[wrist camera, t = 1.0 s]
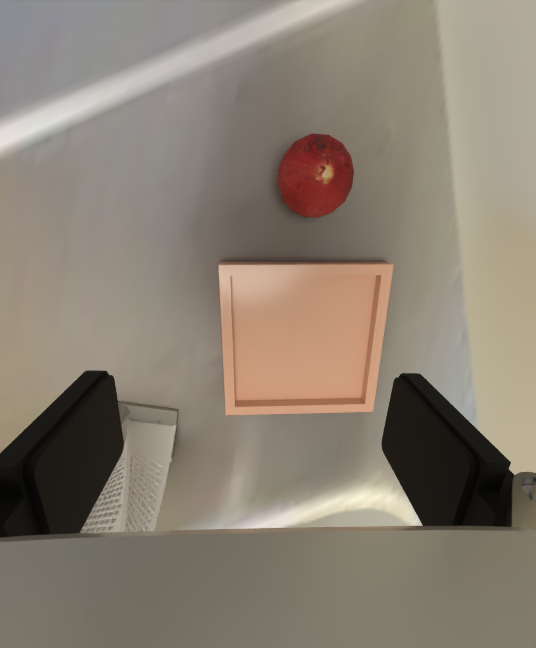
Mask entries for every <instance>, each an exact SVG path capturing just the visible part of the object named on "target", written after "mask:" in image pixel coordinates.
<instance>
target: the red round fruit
mask: <svg viewBox="0 0 536 648" xmlns="http://www.w3.org/2000/svg"><path fill="white" fill-rule="evenodd" d="M353 174H354V170H353V165H352V159H351V156H350V154H349V153H348V151H347V150H346V148H345V146H344V145H343V144H342V143H341V142H339V141H338V140H336V139H334V138H333V137H331V136H330V135H322V134H310V135H308V136H306V137H304V138H302V139H300V140H297V141H296V142H294V144H293V145H292V146H291V147H290V148H289V150H288V151H287V152H286V153H285V154H284V156H283V159H282V161H281V164H280V167H279V169H278V187H279V190H280V193H281V196H282V199H283V201H284V202H285V203H286V205H287V206H288V207H289V208H290V209H291V210H292V211H293V212H295V213H298V214H300V215H302V216H304V217H321V216H323V215H326V214H329V213H331V212H333V211H335V210H336V209H337V208H338V207H339V206H340V205H341V204H342V203H343V202H345V200H346V198H347V196H348V194H349V192H350V190H351V188H352V182H353Z"/></svg>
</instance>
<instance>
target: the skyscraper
mask: <svg viewBox="0 0 536 648" xmlns="http://www.w3.org/2000/svg"><path fill="white" fill-rule="evenodd" d="M118 407H119V413H120V420H121V426H122V433H123V439H124V448H123V452H122V455H121V457H120V458H119V460H118V462H117V464H116V466H115V468H114V470H113V472H112V473H111V475H110V477H109V479H108V481H107V483H106V485H105V487H104V488H103V490H102V492H101V494H100V496H99V498H98V500H97V502H96V503H95V505H94V507H93V509H92V511H91V513H90V515H89V517H88V518H87V520H86V522H85V524H84V526H83V528H82V530H81V532H80V533H98V532H135V531H154V529H155V526H156V522H157V518H158V514H159V510H160V506H161V502H162V498H163V493H164V489H165V484H166V480H167V474H168V469H169V464H170V462H171V461H172V459H173V452H174V443H175V435H176V426H177V417H178V409H172V408H164V407H157V406H149V405H142V404H134V403H127V402H119V401H118Z"/></svg>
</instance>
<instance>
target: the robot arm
mask: <svg viewBox="0 0 536 648" xmlns="http://www.w3.org/2000/svg"><path fill="white" fill-rule="evenodd" d="M123 448H124V439H123V433H122V426H121V420H120V413H119V407H118V400H117V393H116V387H115V380H114V377H113V376H112V375H109V374H108V372H107V371H85V372H84V373H83V374H82V375H81V376H80V377H79V378H78V379H77V380H76V381H75V382H74V383H73V384H72V385H71V386H70V387H68V388H67V389H66V390H65V391H64V392H63V393H62V394H61V395H60V396H59V397H58V398H57V399H56V400H55V401H54V402H53V403H52V404H51V405H50V406H49V407H48V408H47V409H46V410H45V411H44V412H43V413H42V414H41V415H40V416H38V417H37V418H36V419H35V420H34V421H33V422H32V423H31V424H30V425H29V426H28V427H27V428H26V429H25V430H24V431H23V432H22V433H21V434H20V435H19V436H18V437H17V438H16V439H15V440H14V441H13V442H12V443H11V444H10V445H8V446H7V447H6V448H5V449H4V450H3V451H2V452H1V453H0V648H536V473H532V472H520V473H518V474H516V475H514V474H513V473H512V472H511V471H510V470H509V466H510V464H511V462H510V461H509V460H508V459H507V458H506V457H505V456H504V455H503V454H502V453H500V451H499V450H498V449H497V448H495V446H493V445H492V444H491V443H490V442H489V441H488V440H487V439H486V438H485V437H484V436H483V435H482V434H481V433H480V432H479V431H478V430H477V429H476V428H475V427H474V426H473V425H472V424H471V423H470V422H469V421H468V420H467V419H466V418H465V417H464V416H463V415H462V414H461V413H460V412H459V411H458V410H457V409H456V408H455V407H454V406H453V405H452V404H450V403H449V402H448V401H447V400H446V399H445V398H444V397H443V396H442V395H441V394H440V393H439V392H438V391H437V390H436V389H435V388H434V387H433V386H432V385H431V384H430V383H429V382H428V381H427V380H426V379H425V378H424V377H423V376H422V375H421V374H416V373H402V374H400V376H399V378H395V380H394V383H393V388H392V393H391V398H390V402H389V407H388V412H387V417H386V422H385V427H384V432H383V437H382V450H383V452H384V454H385V456H386V458H387V460H388V462H389V464H390V466H391V467H392V469H393V471H394V473H395V475H396V477H397V478H398V480H399V482H400V484H401V486H402V488H403V490H404V491H405V493H406V495H407V497H408V499H409V501H410V503H411V504H412V506H413V508H414V510H415V512H416V514H417V515H418V517H419V519H420V521H421V523H422V525H423V526H382V527H381V526H380V527H313V528H260V529H213V530H174V531H135V532H98V533H80V532H81V530H82V528H83V526H84V524H85V522H86V520H87V518H88V517H89V515H90V513H91V511H92V509H93V507H94V505H95V503H96V502H97V500H98V498H99V496H100V494H101V492H102V490H103V488H104V487H105V485H106V483H107V481H108V479H109V477H110V475H111V473H112V472H113V470H114V468H115V466H116V464H117V462H118V460H119V458H120V457H121V455H122V452H123Z"/></svg>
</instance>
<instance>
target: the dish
mask: <svg viewBox="0 0 536 648" xmlns="http://www.w3.org/2000/svg"><path fill="white" fill-rule="evenodd" d="M393 266H394V264H391V263H388V262H386V261H262V262H220V263H219V285H220V306H221V326H222V346H223V367H224V387H225V407H226V415H254V414H296V413H338V412H373V408H374V400H375V393H376V386H377V379H378V372H379V365H380V358H381V351H382V344H383V337H384V329H385V322H386V315H387V308H388V301H389V294H390V287H391V280H392V273H393Z"/></svg>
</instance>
